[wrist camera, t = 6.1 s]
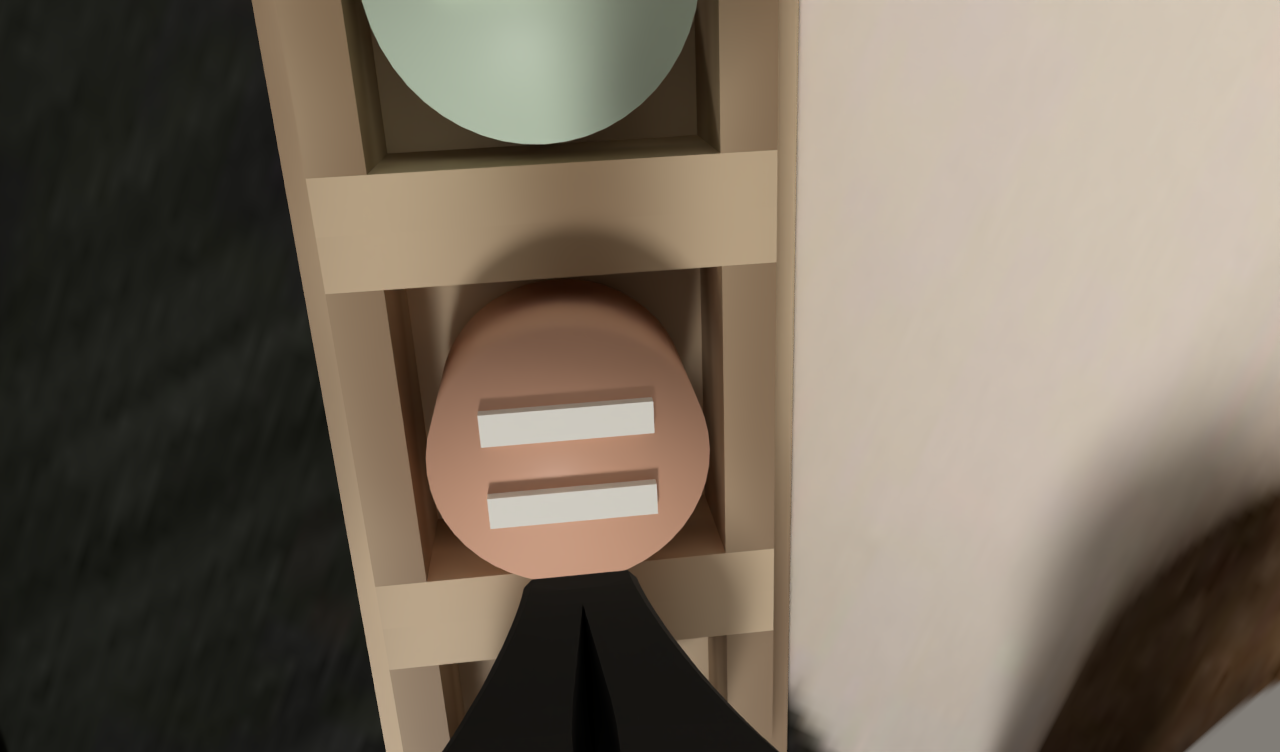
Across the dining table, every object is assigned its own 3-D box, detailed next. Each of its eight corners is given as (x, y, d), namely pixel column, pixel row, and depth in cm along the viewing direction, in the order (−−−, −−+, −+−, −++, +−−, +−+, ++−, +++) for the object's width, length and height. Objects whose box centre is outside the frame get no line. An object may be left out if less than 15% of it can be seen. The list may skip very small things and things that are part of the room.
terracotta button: (455, 514, 20) (443, 601, 17) (425, 288, 19) (406, 342, 16) (687, 493, 21) (714, 574, 18) (681, 270, 19) (709, 319, 16)
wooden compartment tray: (408, 848, 25) (393, 953, 22) (198, -339, 16) (128, -413, 13) (781, 804, 26) (811, 899, 23) (796, -349, 17) (850, -421, 14)
